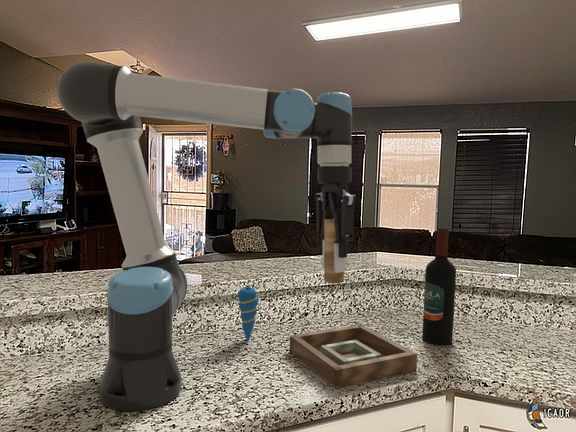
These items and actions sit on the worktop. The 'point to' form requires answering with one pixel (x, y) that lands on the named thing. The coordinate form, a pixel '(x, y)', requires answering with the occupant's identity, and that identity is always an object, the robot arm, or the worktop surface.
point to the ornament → (248, 309)
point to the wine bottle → (439, 295)
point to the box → (352, 355)
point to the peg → (330, 253)
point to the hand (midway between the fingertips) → (334, 269)
